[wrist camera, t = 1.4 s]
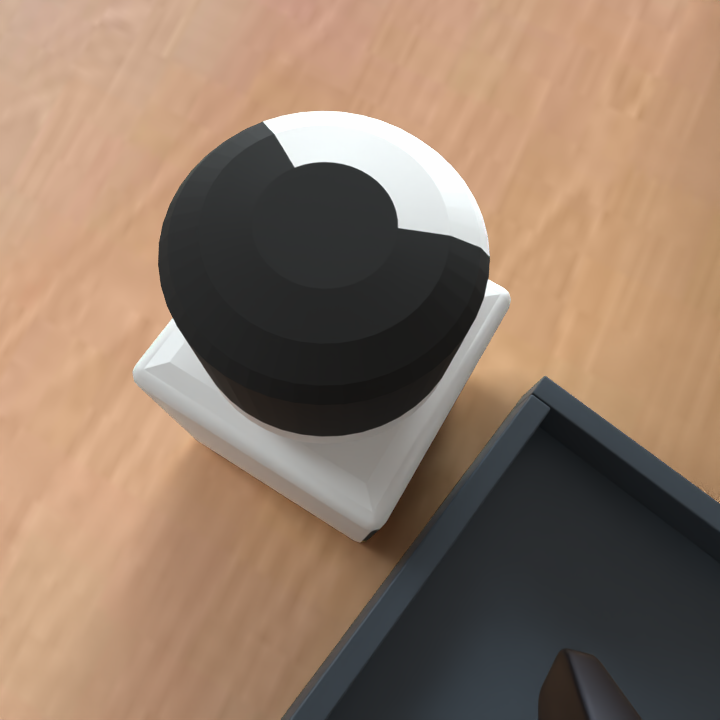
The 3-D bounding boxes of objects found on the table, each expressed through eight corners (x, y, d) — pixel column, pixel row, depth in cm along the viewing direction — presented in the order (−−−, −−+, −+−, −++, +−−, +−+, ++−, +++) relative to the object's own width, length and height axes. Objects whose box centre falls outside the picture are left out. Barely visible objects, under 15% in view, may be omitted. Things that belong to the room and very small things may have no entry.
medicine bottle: (363, 547, 20) (401, 519, 9) (190, 437, 21) (19, 280, 10) (463, 375, 22) (598, 171, 11) (301, 282, 23) (269, 6, 12)
